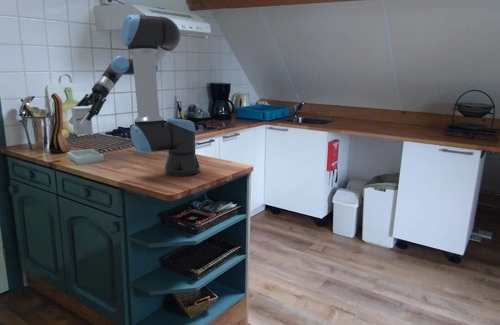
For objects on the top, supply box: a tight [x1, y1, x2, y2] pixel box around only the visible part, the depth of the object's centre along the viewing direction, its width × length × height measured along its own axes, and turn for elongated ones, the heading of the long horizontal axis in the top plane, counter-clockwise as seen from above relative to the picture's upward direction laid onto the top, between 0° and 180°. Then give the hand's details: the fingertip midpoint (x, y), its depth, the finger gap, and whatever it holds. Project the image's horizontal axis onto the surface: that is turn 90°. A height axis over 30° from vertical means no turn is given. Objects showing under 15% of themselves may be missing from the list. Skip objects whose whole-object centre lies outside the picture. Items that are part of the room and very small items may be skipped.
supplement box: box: [71, 106, 94, 136], centre depth 186 cm, size 7×7×13 cm
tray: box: [66, 148, 105, 166], centre depth 190 cm, size 16×12×3 cm
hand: (76, 124), depth 184 cm, fingers closed on supplement box, 9 cm apart
